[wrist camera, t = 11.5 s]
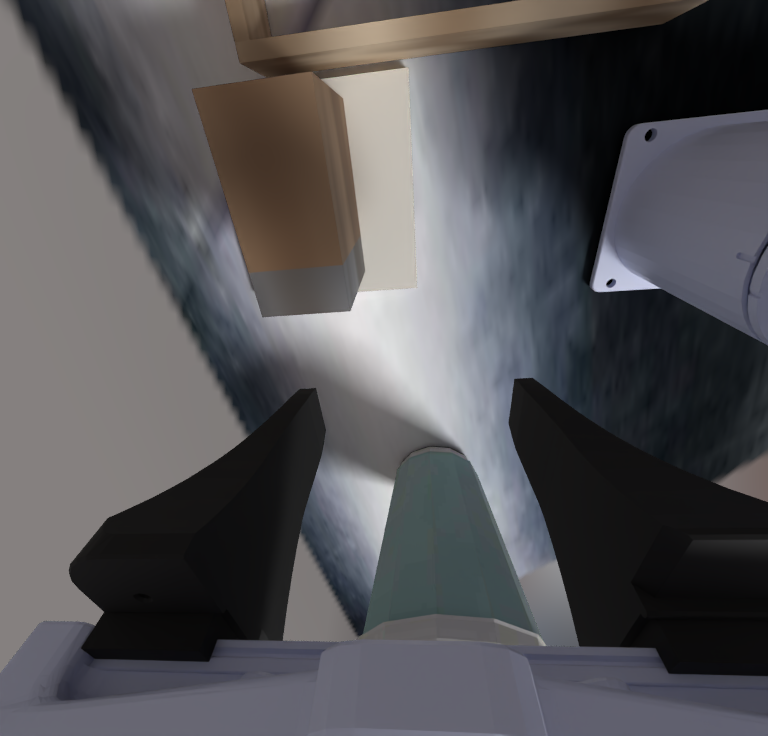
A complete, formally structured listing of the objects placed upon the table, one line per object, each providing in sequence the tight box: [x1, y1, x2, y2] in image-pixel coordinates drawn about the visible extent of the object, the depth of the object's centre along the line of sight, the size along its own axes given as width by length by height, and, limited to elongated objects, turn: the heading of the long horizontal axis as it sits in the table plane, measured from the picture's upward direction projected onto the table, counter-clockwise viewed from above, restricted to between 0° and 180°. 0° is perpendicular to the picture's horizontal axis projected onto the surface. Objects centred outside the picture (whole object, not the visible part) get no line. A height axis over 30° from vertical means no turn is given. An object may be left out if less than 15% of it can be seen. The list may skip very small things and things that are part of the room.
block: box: [192, 71, 365, 317], centre depth 15 cm, size 4×8×6 cm, turn 6°
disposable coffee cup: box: [356, 447, 546, 646], centre depth 23 cm, size 11×11×15 cm
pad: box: [321, 67, 417, 292], centre depth 18 cm, size 10×10×1 cm
